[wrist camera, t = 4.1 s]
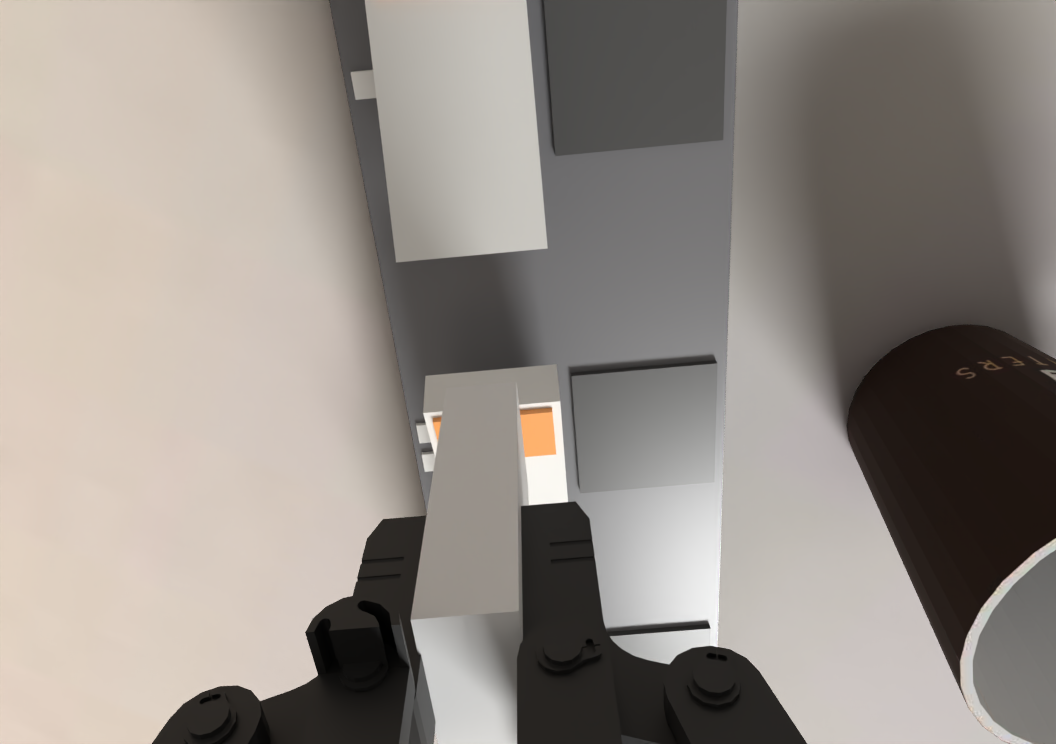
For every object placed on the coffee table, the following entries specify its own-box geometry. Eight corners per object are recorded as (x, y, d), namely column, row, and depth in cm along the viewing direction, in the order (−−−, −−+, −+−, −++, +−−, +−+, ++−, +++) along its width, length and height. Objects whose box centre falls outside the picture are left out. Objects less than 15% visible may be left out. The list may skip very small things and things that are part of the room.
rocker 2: (425, 375, 19) (422, 417, 18) (556, 364, 19) (560, 405, 18) (465, 532, 24) (464, 570, 23) (569, 523, 24) (572, 562, 23)
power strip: (339, -106, 19) (296, -121, 15) (706, -144, 19) (755, -169, 15) (498, 802, 36) (496, 903, 32) (693, 788, 36) (715, 889, 32)
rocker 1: (366, -75, 16) (351, -102, 15) (517, -91, 16) (516, -119, 15) (405, 260, 18) (394, 262, 16) (547, 247, 18) (547, 248, 16)
